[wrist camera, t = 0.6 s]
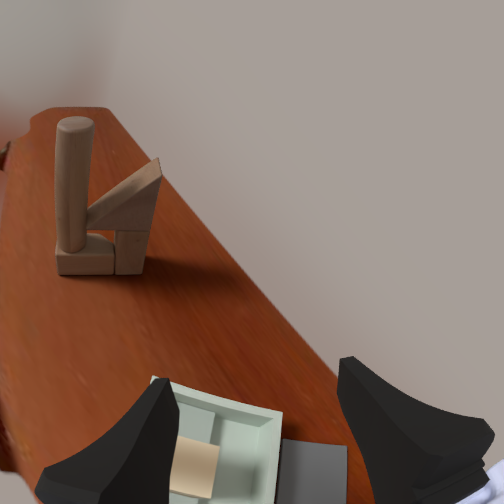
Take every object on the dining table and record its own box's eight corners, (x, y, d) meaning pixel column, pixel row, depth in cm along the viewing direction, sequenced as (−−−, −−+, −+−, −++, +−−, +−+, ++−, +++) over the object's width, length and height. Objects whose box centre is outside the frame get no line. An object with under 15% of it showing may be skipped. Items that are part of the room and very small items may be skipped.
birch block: (192, 497, 18) (210, 498, 14) (144, 485, 17) (148, 483, 14) (200, 457, 21) (220, 446, 17) (154, 444, 20) (162, 430, 17)
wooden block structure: (142, 275, 35) (173, 138, 24) (57, 276, 30) (51, 130, 19) (139, 253, 37) (167, 122, 26) (59, 253, 32) (59, 114, 21)
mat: (341, 541, 18) (343, 541, 18) (269, 544, 17) (271, 545, 17) (344, 446, 28) (347, 446, 27) (281, 439, 26) (283, 438, 26)
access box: (247, 556, 16) (265, 563, 13) (110, 529, 14) (107, 535, 11) (265, 423, 27) (282, 412, 25) (149, 390, 26) (152, 375, 23)
